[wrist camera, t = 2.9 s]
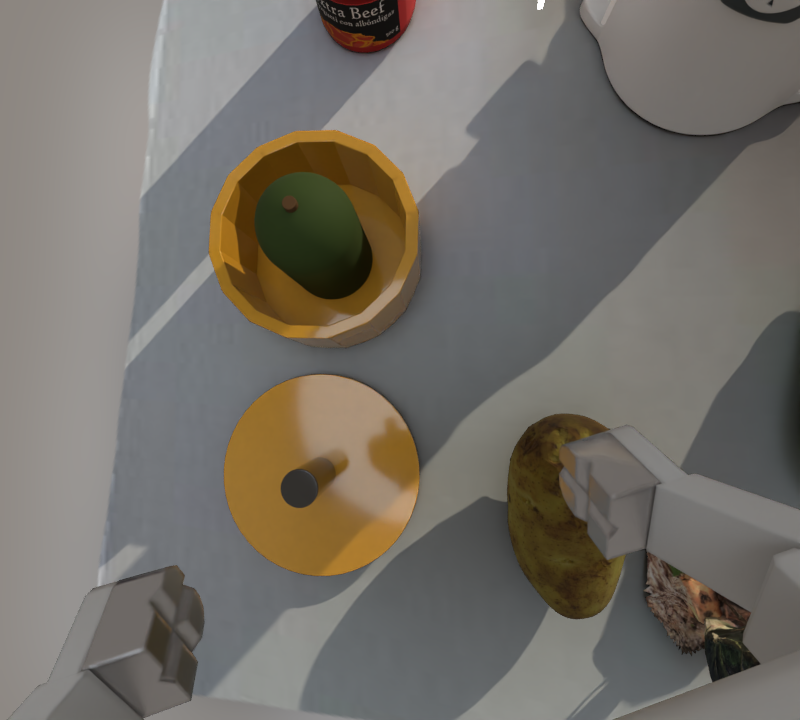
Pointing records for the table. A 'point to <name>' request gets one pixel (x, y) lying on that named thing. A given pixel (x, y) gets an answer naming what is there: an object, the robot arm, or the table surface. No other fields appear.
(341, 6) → the canned food
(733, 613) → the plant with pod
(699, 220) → the table surface
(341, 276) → the avocado
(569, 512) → the potato
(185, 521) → the table surface
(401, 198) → the pot
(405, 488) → the lid
